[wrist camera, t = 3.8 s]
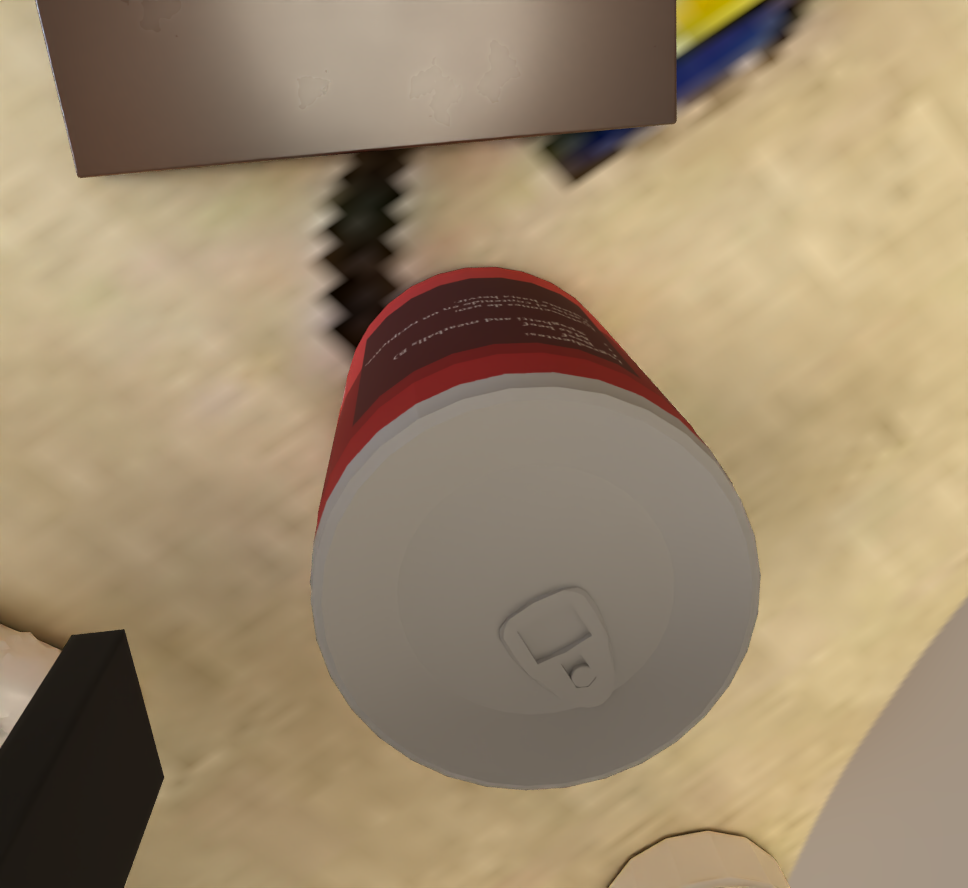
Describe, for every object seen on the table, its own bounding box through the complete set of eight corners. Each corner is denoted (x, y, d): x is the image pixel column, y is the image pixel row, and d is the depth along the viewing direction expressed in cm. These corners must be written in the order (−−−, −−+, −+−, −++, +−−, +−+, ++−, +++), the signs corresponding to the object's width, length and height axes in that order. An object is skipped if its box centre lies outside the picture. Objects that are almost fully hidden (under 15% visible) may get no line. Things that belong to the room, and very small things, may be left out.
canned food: (490, 574, 27) (543, 861, 17) (285, 404, 25) (202, 621, 14) (677, 398, 26) (859, 599, 15) (478, 198, 23) (538, 279, 13)
